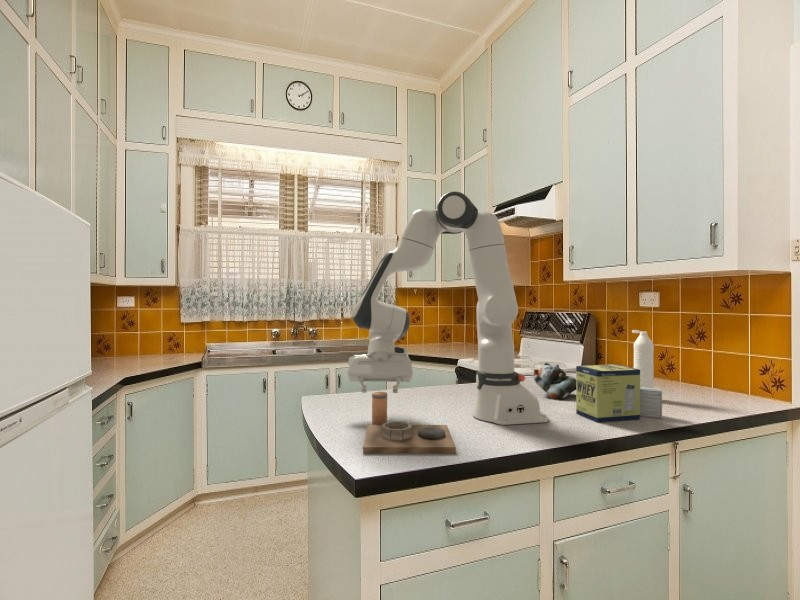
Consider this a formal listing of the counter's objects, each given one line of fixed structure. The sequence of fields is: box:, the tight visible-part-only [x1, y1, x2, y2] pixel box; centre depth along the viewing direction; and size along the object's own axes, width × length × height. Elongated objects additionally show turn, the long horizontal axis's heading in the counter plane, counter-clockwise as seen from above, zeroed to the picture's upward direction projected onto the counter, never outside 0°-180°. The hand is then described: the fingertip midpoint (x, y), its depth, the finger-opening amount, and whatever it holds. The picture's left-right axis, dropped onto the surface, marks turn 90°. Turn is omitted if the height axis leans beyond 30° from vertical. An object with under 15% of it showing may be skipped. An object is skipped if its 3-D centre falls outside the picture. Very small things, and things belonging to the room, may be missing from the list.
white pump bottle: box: [631, 329, 655, 388], centre depth 160 cm, size 9×6×25 cm
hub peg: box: [371, 391, 388, 425], centre depth 126 cm, size 4×4×9 cm
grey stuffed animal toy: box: [533, 362, 576, 401], centre depth 164 cm, size 15×12×14 cm
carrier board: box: [362, 420, 457, 455], centre depth 111 cm, size 22×18×4 cm
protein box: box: [575, 363, 641, 424], centre depth 134 cm, size 10×16×16 cm
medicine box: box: [640, 387, 663, 419], centre depth 135 cm, size 8×4×9 cm, turn 65°
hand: (379, 392), depth 129 cm, fingers open, 8 cm apart
